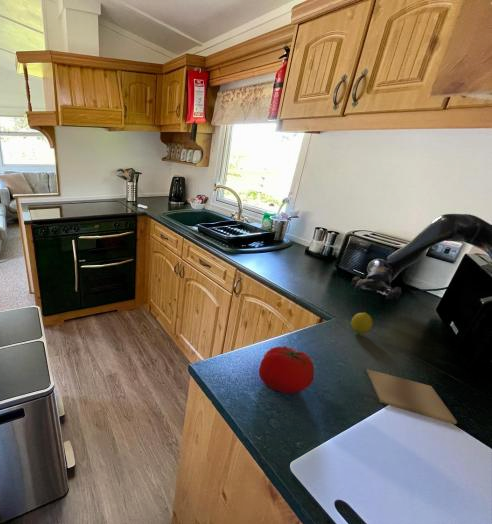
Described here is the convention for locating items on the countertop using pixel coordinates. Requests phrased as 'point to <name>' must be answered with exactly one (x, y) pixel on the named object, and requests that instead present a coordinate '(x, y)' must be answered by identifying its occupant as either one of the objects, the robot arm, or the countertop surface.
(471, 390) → the countertop surface
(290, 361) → the tomato
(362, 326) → the lemon
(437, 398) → the board
